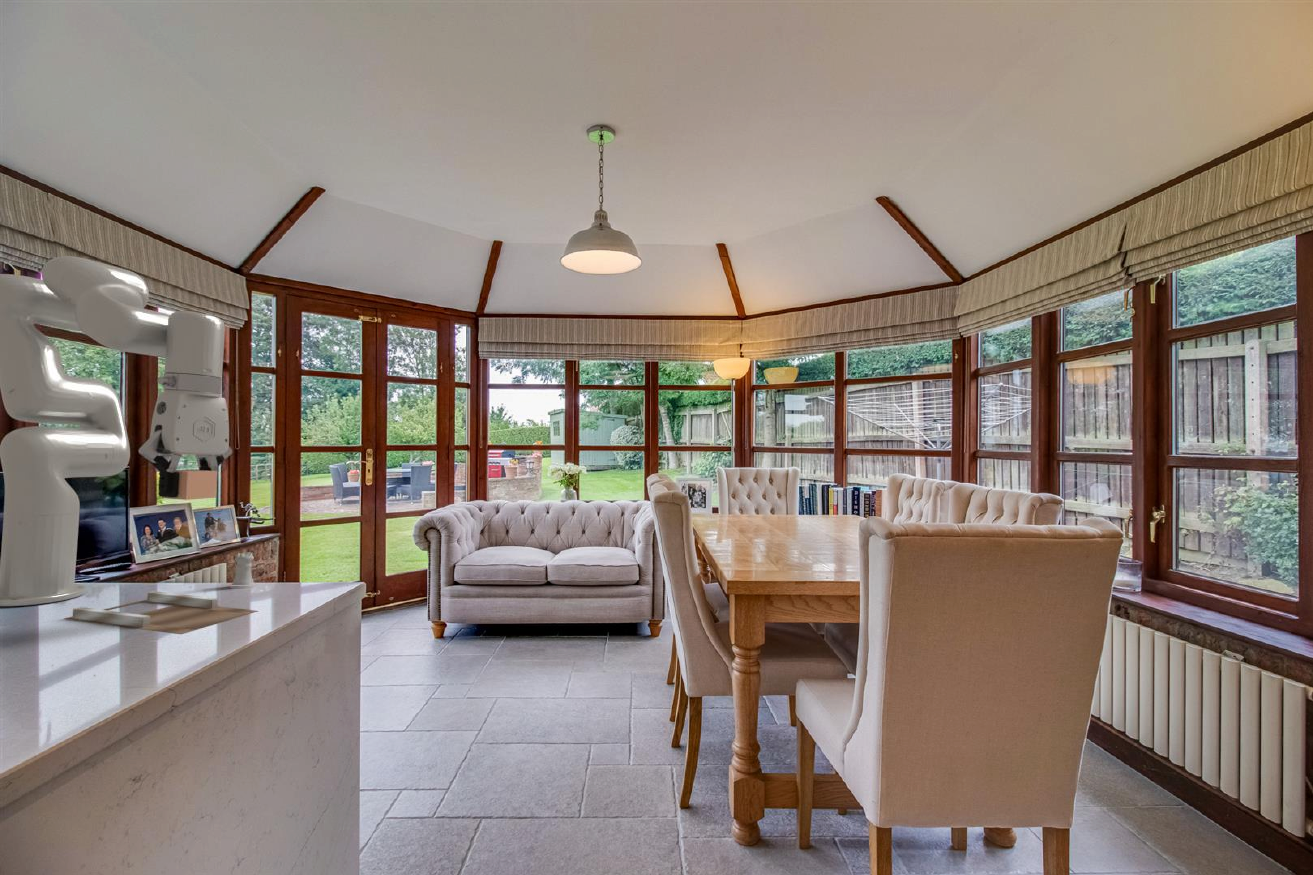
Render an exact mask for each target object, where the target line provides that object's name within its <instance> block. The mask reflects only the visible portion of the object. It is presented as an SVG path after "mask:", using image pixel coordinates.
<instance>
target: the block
mask: <svg viewBox="0 0 1313 875" xmlns="http://www.w3.org/2000/svg"><path fill="white" fill-rule="evenodd" d="M175 472H177V473H179V488H178V496H177V497H161V496H160V497H161V499H167V500H168V499H173V500H185V501H188V500H189V501H191V500H202V499H215V498H217V497H216V496H217V482H218V481H217V480H218V470H217V471H206V470H199V469H176V471H175Z"/></svg>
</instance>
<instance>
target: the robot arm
mask: <svg viewBox="0 0 1313 875" xmlns="http://www.w3.org/2000/svg"><path fill="white" fill-rule="evenodd" d="M40 274H41V278H36V277H31V276H25V275H19V274H12V273H11V274H9V273H0V393H1V398H2V402H3V403H2V404H3V406H4V409H5V411H6V413H7V414H8V415H9V416H10V418H12V419H14V420H16V421H20V422H26V423H34V424H48V426H46V425H45V426H44V425H43V426H41V425H40V426H26V427H21V428H17V429H15V430H12V431H10V432H8V433H7V434H6V435H5V436H4V437H3V439H2V440H1V442H0V464H1V468H2V472H3V473H2V474H3V481H4V503H3V504H4V505H3V520H2V521H3V523H2V538H1V539H2V540H1V552H0V607H20V606H21V607H22V606H34V605H40V604H41V605H42V604H50V603H56V602H60V601H61V602H62V601H65V600H70V599H75V598H77V597H80V596H82V595H84V594H85V593H86V586H85V585H83V584H78V583H75V581H76V580H75V579H76V564H77V555H78V554H77V552H78V539H79V538H78V537H79V525H80V524H79V522H80V508H81V506H80V498H79V496H78V494H77V493H76V491H75V490H74V489H73V487H72V486H71V485H70V484H69V483H68V482H67V480H65V479H68V478H69V479H70V478H94V477H95V478H97V477H110V476H115V475H117V474H118V475H119V474H120V473H121V472H123V471H124V470H125V469H126V468H127V467H128V464H129V462H130V458H131V448H130V440H129V437H128V436H129V435H128V432H127V426H126V422H125V417H124V414H123V407H122V404H121V400H120V397H119V394H118V393H117V391H116V390H115V388H114V387H113V386H112V385H111V384H110V383H108V382H107V381H106V382H105V381H103V380H101V379H95V378H90V377H81V376H74V375H69V374H68V373H66V372H65V369H64V368H63V363H62V362H63V360H62V357H61V353H60V351H59V349H58V348H57V347H56V345H55V344H54V343H53V342H52V341H51V340H50V339H49V338H48V337H47V336H46V335H45V334H44V333H42V332H41V330H39V329H37V327H36V326H35V325H41V326H47V327H52V328H53V327H54V328H58V329H64V330H69V331H75V332H82V333H84V334H85V335H86V336H88V337H89V338H91V339H92V340H93V341H96V342H97V343H98V344H100V345H102V346H103V347H106V348H109V349H111V350H115V351H120V352H126V353H133V354H138V355H146V356H152V357H157V358H163V359H165V360H164V375H161V376H160V375H159V376H158V378H157V383H158V385H163V386H162V387H163V389H162V392H159V393H158V397H157V399H156V402H155V406H154V410H153V414H152V418H151V425H150V432H149V433H150V435H149V438H148V439H147V440H146V441H145V442H144V444H142V445H141V447H139V448H138V453H139V454H140V455H141V456H142V457H144V458H145V459H146V460H148V462H149V463H150V464H151V465H152V466H153V467H154V469H155V471H156V472H158V473H159V477H158V496H159V497H177V496H178V488H179V473H177V472H175V471H176V470H178V469H177V468H178V467H179V463H180V461H181V457H182V456H183V455H187V456H189V455H191V456H193V455H194V456H195V458H196V462H197V468H198V470H206V471H217V472H218V469H219V466H221V464H222V463H223V462H224V461H225V460H226V459H227V458H228V457H229V456H231V455H233V450H232V448H231V446H230V445H229V444H230V420H229V412H228V406H227V405H228V404H227V400H226V398H225V397H221V396H222V383H223V379H222V378H223V366H224V365H223V364H224V351H225V335H226V334H225V333H226V332H225V331H226V330H225V329H226V326H225V323H224V321H223V320H222V319H221V318H220V317H217V316H215V315H212V314H207V313H204V312H198V311H189V310H188V311H186V310H184V311H183V310H180V311H179V310H178V311H174V312H172V313H171V314H168V313H165V312H161V311H156V310H151V309H147V308H145V307H146V306H147V304H148V302H149V298H150V290H149V286H148V285H147V282H146V281H145V280H144V279H143V278H142V277H141V276H140V275H139V274H137V273H136V272H133V271H132V270H129V269H125V268H120V267H118V266H113V265H110V264H106V263H103V262H100V261H95V260H93V259H88V258H84V257H79V256H72V255H62V256H57V257H54V258H52V259H49V260H47V262H45V263H44V264H43V266H42V267H41V273H40ZM49 424H52V425H53V424H54V425H73V426H79V427H70V426H50V425H49Z"/></svg>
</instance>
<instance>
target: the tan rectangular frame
mask: <svg viewBox="0 0 1313 875" xmlns="http://www.w3.org/2000/svg"><path fill="white" fill-rule="evenodd" d="M143 603H149V604H157V605H165V607H162V608H158V609H153V610H150V611H149V610H148V611H145V612H142V613H130V612H121V611H115V610H116V609H120V608H124V607H128V606H133V605H137V604H143ZM218 603H219V598H217V597H210V596H209V597H208V596H207V597H206V596H198V595H189V594H182V593H172V592H162V591H156V590H154V591H150V592H149V591H148V592H147V599H144V600H143V599H142V600H140V601H139V600H138V601H135V602H129V603H126V604H122V605H121V604H120V605H118V606H112V607H109V608H105V609H98V608H89V607H82V606H79V607H75V608H72V616H69V617H64V618H63V619H64V620H72V621H75V622H77V621H79V622H83V623H91V624H92V623H93V624H101V625H106V626H107V625H108V626H113V627H115V626H116V627H124V628H130V629H138V630H146V631H152V632H153V631H154V632H161V633H169V634H177V635H184V634H187V633H191V632H194V631H198V630H200V629H201V630H202V629H204V628H208V627H211V626H213V625H217V624H220V623H223V622H228V621H231V620H234V619H237V618H240V617H244V616H247V615H250V614H254V613H256V612H259V610H255V609H254V610H253V609H246V608H245V609H244V608H236V607H227V606H219V605H218ZM167 605H168V606H167ZM113 610H114V611H113Z"/></svg>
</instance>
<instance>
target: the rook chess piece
mask: <svg viewBox="0 0 1313 875" xmlns="http://www.w3.org/2000/svg"><path fill="white" fill-rule="evenodd" d="M254 558H255V556H254V555H253V552H250V551H249V552H248V551H247V552H246V553H245V552H241V553H240V552H237V553H236V556H235V558H234V561H235V562H236V565H235V568H236V569H235V570H236V571H235V575H234V580H233V581H232V583H231V585H256V586H257V584H256V583H255V582H254V579H253V575H252V574H253V573H252V567H253V564H252V561H253V560H254ZM253 587H255V586H229V588H230V589H232V590H233V589H235V590H236V589H237V590H239V589H240V590H241V589H249V588H253Z"/></svg>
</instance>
